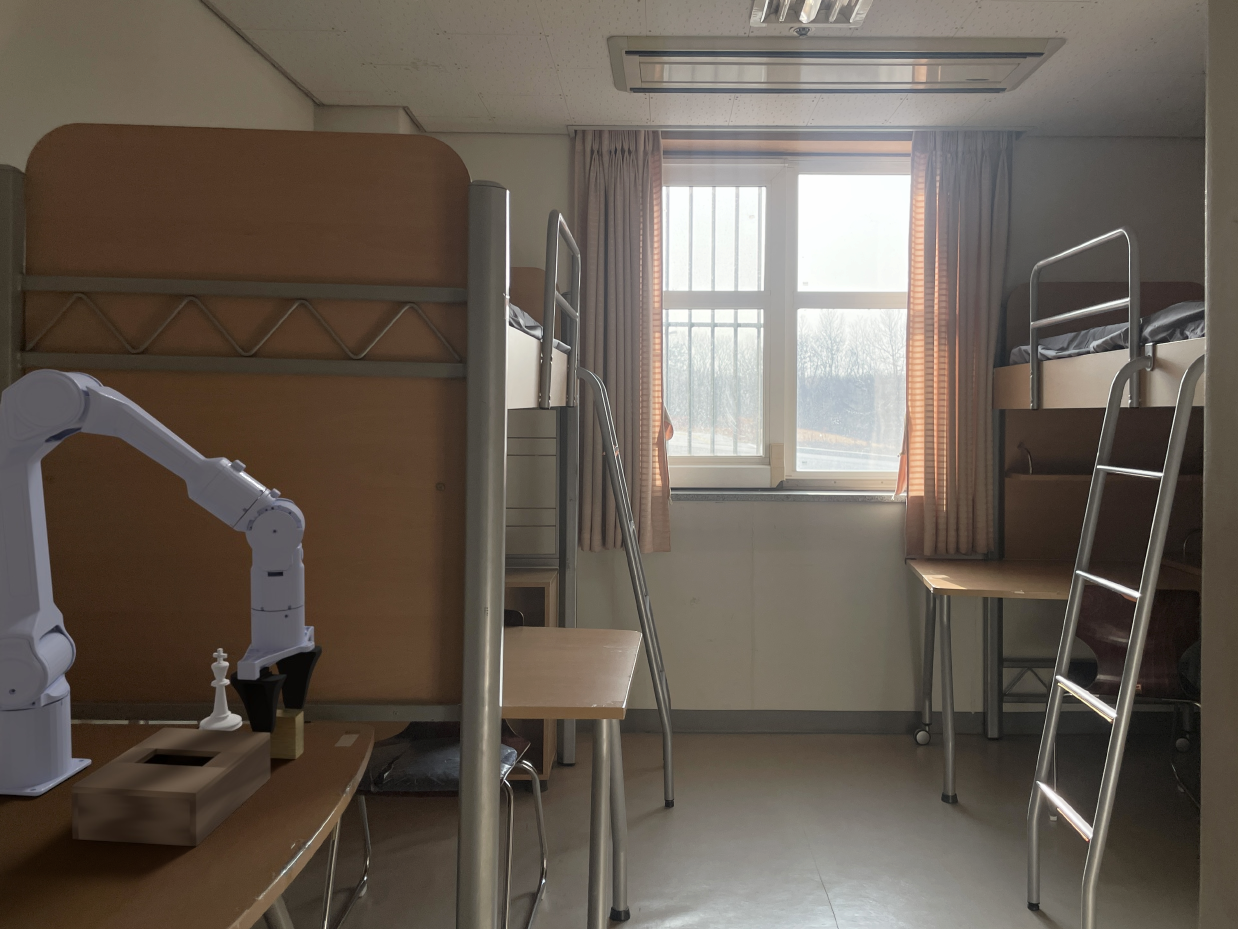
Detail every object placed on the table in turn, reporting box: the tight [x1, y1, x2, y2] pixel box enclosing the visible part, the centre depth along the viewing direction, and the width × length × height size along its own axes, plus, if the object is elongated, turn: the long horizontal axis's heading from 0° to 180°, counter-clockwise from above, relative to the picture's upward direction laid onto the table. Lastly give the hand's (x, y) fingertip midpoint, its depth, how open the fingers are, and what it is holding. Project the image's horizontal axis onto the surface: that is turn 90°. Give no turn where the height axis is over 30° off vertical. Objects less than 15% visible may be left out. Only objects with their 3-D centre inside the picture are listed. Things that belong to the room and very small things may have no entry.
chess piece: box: [198, 648, 243, 731], centre depth 103 cm, size 5×5×10 cm
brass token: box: [270, 709, 305, 760], centre depth 95 cm, size 5×2×5 cm, turn 86°
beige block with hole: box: [70, 727, 271, 847], centre depth 83 cm, size 12×14×5 cm
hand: (279, 720), depth 95 cm, fingers open, 7 cm apart
